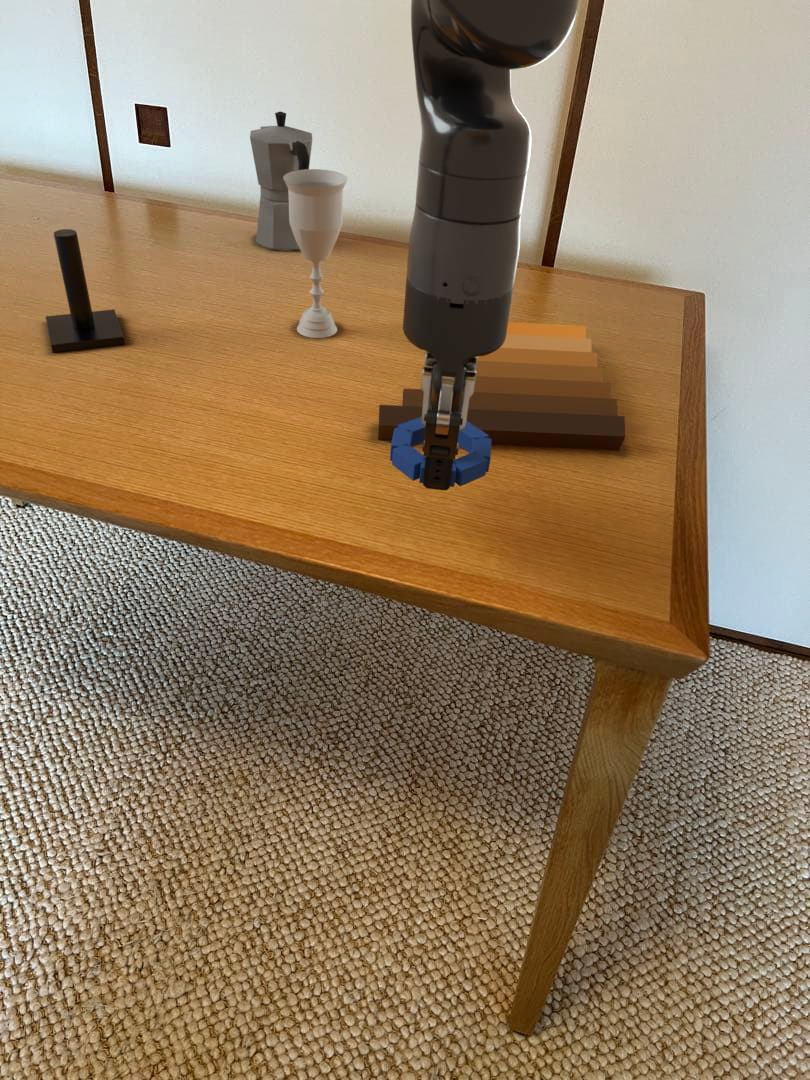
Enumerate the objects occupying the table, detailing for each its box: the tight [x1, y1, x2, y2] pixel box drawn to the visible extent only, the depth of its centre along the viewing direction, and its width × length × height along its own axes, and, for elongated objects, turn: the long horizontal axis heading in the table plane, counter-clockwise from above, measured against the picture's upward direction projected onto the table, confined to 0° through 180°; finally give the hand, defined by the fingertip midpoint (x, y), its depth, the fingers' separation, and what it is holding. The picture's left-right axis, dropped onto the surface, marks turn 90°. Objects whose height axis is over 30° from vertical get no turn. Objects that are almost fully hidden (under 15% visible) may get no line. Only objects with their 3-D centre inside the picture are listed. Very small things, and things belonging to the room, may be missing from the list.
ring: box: [389, 417, 492, 488], centre depth 69 cm, size 8×8×2 cm
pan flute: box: [377, 321, 626, 451], centre depth 92 cm, size 25×3×25 cm
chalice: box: [283, 168, 348, 339], centre depth 96 cm, size 7×7×18 cm
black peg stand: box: [45, 228, 126, 354], centre depth 93 cm, size 8×8×12 cm
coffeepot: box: [249, 111, 313, 252], centre depth 119 cm, size 15×9×18 cm, turn 29°
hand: (437, 479), depth 67 cm, fingers closed on ring
